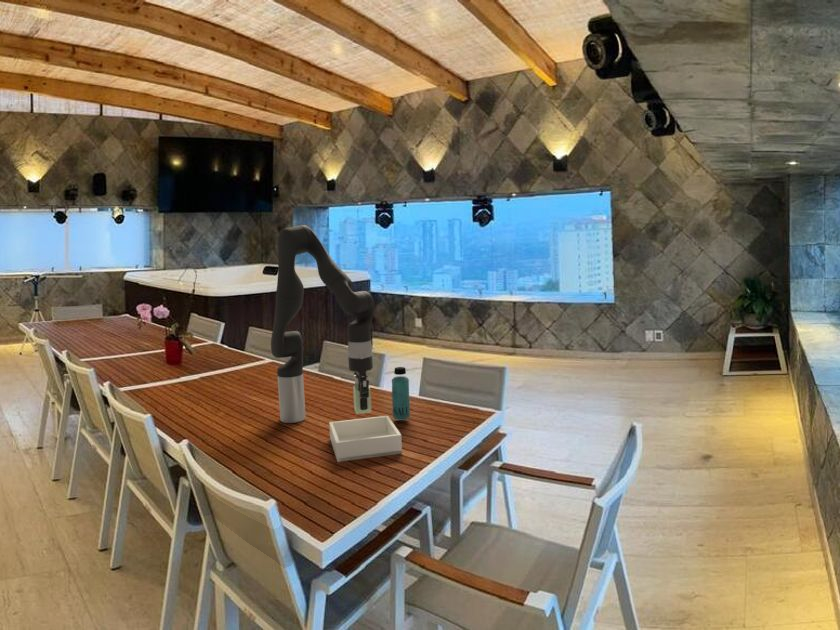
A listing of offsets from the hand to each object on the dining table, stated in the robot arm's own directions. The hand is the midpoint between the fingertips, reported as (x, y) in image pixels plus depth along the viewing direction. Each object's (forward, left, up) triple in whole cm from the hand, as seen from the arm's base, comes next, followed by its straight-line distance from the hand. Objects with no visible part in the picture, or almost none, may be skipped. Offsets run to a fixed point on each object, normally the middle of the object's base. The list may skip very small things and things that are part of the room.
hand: (362, 406), depth 180 cm
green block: (0, 0, -1) cm, 1 cm away
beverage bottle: (-20, +17, -13) cm, 30 cm away
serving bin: (0, 0, -13) cm, 13 cm away
